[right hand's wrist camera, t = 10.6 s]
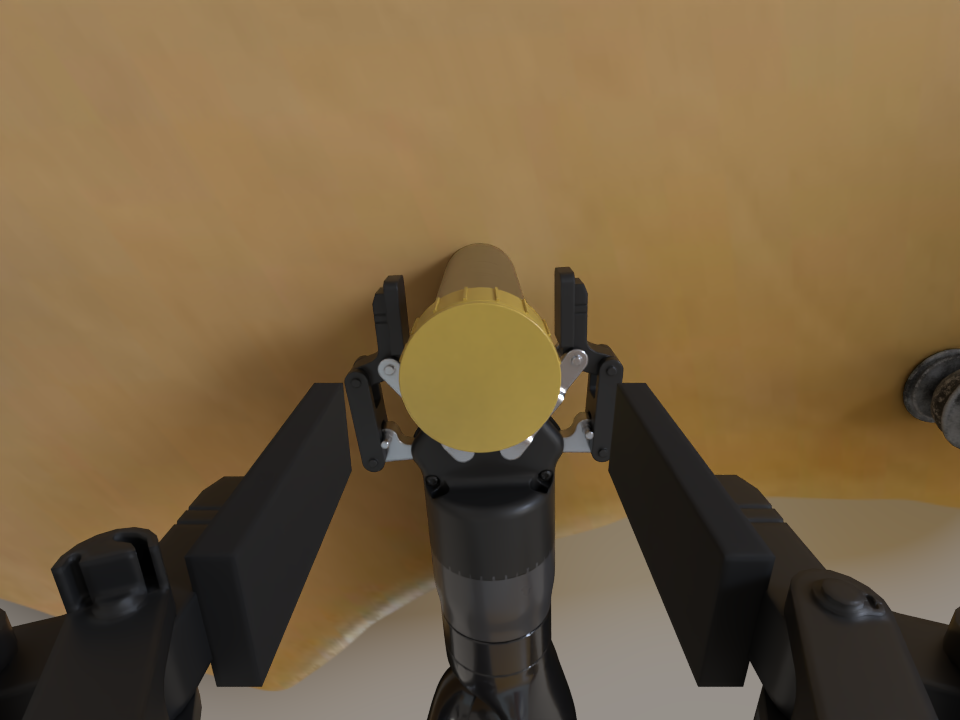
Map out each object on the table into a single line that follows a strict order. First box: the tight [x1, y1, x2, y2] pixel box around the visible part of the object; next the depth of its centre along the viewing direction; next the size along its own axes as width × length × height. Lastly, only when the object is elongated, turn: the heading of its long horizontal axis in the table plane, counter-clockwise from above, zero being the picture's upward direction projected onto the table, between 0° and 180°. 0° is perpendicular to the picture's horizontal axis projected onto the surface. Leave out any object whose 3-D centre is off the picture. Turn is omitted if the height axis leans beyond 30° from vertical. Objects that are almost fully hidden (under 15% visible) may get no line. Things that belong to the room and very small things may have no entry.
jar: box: [435, 243, 524, 301], centre depth 25 cm, size 4×4×16 cm
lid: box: [399, 287, 561, 453], centre depth 18 cm, size 6×6×2 cm
